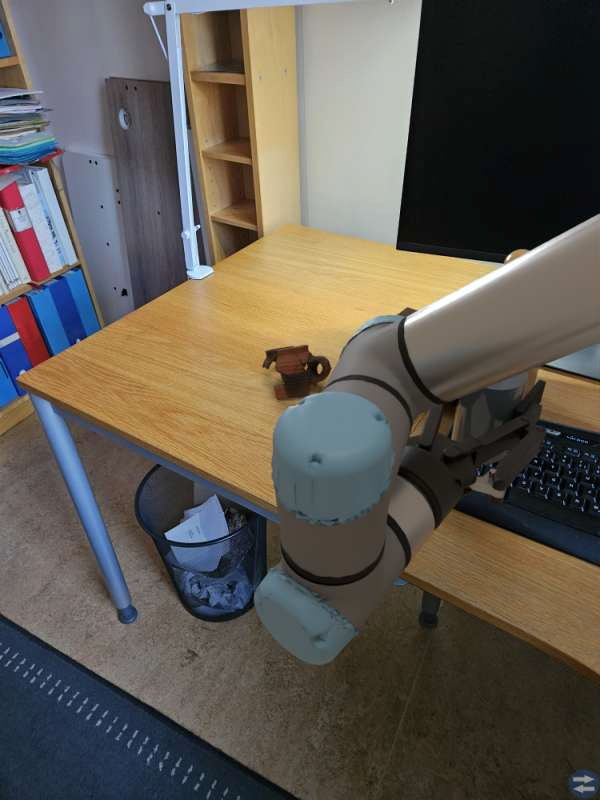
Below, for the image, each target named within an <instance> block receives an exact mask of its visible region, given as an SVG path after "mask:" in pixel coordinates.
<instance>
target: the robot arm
mask: <svg viewBox="0 0 600 800" xmlns="http://www.w3.org/2000/svg"><path fill="white" fill-rule="evenodd" d="M417 310H418V309H417ZM598 344H600V213H598V214H596V215H594V216H593V217H590V218H589V219H587V220H585V221H583V222H581V223H579V224H577V225H576V226H574V227H572V228H570V229H568V230H566V231H564V232H563V233H561V234H559V235H557V236H555V237H553V238H551V239H549V240H548V241H545V242H544V243H542V244H540V245H537V246H536V247H534V248H533V249H531V250H529V252H527V253H525V254H523V255H521V256H519V257H518V258H516V259H514V260H512V261H510V262H508V263H506V264H504V263H503V265H501V266H499V267H497V268H495V269H493V270H491V271H490V272H488V273H486V274H484V275H482V276H480V277H478V278H476V279H475V280H473V281H471V282H468V283H467V284H465V285H463V286H462V287H459V288H457V289H455V290H453V291H452V292H450V293H448V294H446V295H445V296H443V297H441V298H439V299H437V300H435V301H434V302H432V303H430V304H428V305H426V306H424V307H422V308H420V309H419V310H418V311H417V312H415V313H413V314H410V315H408V316H406V317H404V316H400V315H397V314H384V315H377V316H374V317H371V318H370V319H369V320H368V319H367V320H366V321H365V322H363V323H362V324H361V325H360V326H359V327H358V329H357V330H356V331H355V333H354V334H353V335H352V336H350V338H349V339H348V340H347V342H346V344H345V345H344V346H343V347H342V350H341V353H340V355H339V358H338V360H337V363H336V365H335V366H334V367H333V370H332V372H331V373H330V375H329V376H328V377H329V378H328V379H327V381H326V383H325V384H324V386H323V388H322V390H321V392H318V393H317V392H316V393H314V394H310V395H307V396H304V397H302V399H301V400H300V402H299V403H297V404H296V405H290V406H288V407H287V408H285V410H284V411H282V413H281V414H280V415H279V417H278V419H277V420H276V423H275V425H274V428H273V433H272V456H271V462H270V466H271V469H272V471H271V473H270V474H271V480H272V482H273V484H272V485H273V488H274V494H275V501H276V502H275V503H276V511H277V517H278V526H279V534H280V543H279V544H280V555H281V559H280V561H279V563H277V564H276V565H275V566H272V567H270V568H269V569H268V571H267V574H266V575H265V576H264V577H263V579H262V580H261V582H260V583H259V584H258V585H257V586H256V588H255V591H254V593H253V594H254V595H253V604H254V605H253V606H254V608H255V611H256V614H257V616H258V618H259V620H260V622H261V623H262V625H263V626H264V628H265V629H266V630H267V632H268V633H269V634H270V636H272V638H273V639H274V640H275V641H276V642H277V643H278V644H279V645H280V646H281V647H283V649H285V650H286V651H288V652H289V653H290V654H291V655H293V656H294V657H295V658H297V659H299V660H300V661H303V662H305V663H307V664H309V665H318V666H321V665H326V664H328V663H330V662H332V661H333V660H334V659H335V658H336V657H337V656H338V655H339V654H340V653H341V651H342V650H343V649H344V648H345V647H346V646H347V645H348V644H349V642H350V641H351V640H352V639H353V638H356V637H357V636H358V635H359V634H360V631H359V630H360V629H361V628H362V627H363V625H364V623H365V622H366V621H367V620H368V618H369V617H370V616H371V614H372V613H373V612H374V611H375V609H376V608H377V606H378V605H379V604H380V603H381V601H383V599H384V597H386V595H387V593H388V592H389V591H390V590H391V589H392V587H393V585H395V583H396V582H397V580H398V579H399V578H400V577H401V575H402V574H403V573H404V571H405V570H406V569H407V568H408V566H409V564H410V563H411V562H412V561H413V560H414V558H415V557H416V555H417V554H419V552H420V551H421V549H422V548H423V547H424V545H426V543H427V542H428V540H429V539H430V538H431V537H432V535H433V534H434V531H436V530H437V529H438V528H439V527H440V525H441V524H442V523H443V522H444V520H445V519H446V518H447V516H448V515H449V514H450V513H451V511H452V510H453V509H454V508H455V506H456V505H457V504H458V502H459V501H460V499H461V498H463V497H466V496H468V495H470V494H472V493H473V492H476V493H477V492H478V493H482V494H484V495H489V498H488V499H489V501H490V502H491V503H492V504H494V505H501V504H503V502H504V499H505V496H506V492H507V489H508V487H509V486H510V485H511V484H512V483H513V482H514V480H515V479H516V478H517V477H518V476H519V475H520V474H521V473H522V472H523V470H524V469H526V467H527V466H528V465H529V464H530V463H531V462H532V460H534V459H535V457H536V456H537V455H538V454H540V453H541V451H542V448H543V445H544V441H545V438H546V435H547V432H548V429H547V427H545V426H543V425H538V424H537V423H538V421H539V420H540V418H541V414H542V411H543V404H540V403H541V402H542V399H543V395H544V392H545V388H546V384H547V381H546V380H543V379H541V378H540V379H538V380H537V382H535V384H534V386H533V388H532V389H531V390H530V391H529V393H528V394H527V395H526V396H525V398H524V399H523V400H522V401H521V403H520V404H519V405H518V406H517V407H516V409H515V411H514V415H513V419H512V420H511V421H509V422H507V423H505V424H503V425H501V426H499V427H497V428H495V429H493V430H492V431H490V432H488V433H486V434H484V435H482V436H480V437H478V438H476V439H475V438H474V437H471V438H469V439H467V440H465V441H463V442H459V441H455V440H451V439H450V438H449V437H448V436H446V435H445V434H442V433H440V432H439V431H440V427H441V424H442V420H443V417H444V413H445V409H446V406H449V407H452V408H454V407H456V406H457V400H458V398H461V397H463V396H466V395H468V394H471V393H473V392H476V391H479V390H481V389H484V388H486V387H489V386H491V385H494V384H496V383H499V382H501V381H504V380H507V379H509V378H512V377H514V376H517V375H519V374H522V373H524V372H527V371H530V370H532V369H535V368H537V367H539V368H540V367H542V366H545V365H547V364H550V363H552V362H555V361H558V360H561V359H562V358H565V357H568V356H570V355H573V354H575V353H578V352H580V351H582V350H586V349H588V348H591V347H593V346H596V345H598ZM426 412H428V414H427V417H426V419H425V421H424V424H423V428H422V431H421V433H420V434H417V435H412V436H410V435H411V432H412V428H413V426H414V423H415V421H416V419H417V418H418V417H419V416H421V414H424V413H426ZM536 424H537V425H536ZM508 449H510V451H509V453H508V454H507V455H506V456H505V457H504V458H503V459H502V460H500V461H499V462H498V464H497V466H496V468H494V467H493V468H490V469H489V471H487V472H486V473H485V474H484V475H481V476H478V475H477V470H479V468H480V466H481V465H483V464H485V463H484V462H486V461H488V460H490V459H492V458H493V457H495V456H497V455H499V454H501V453H503V452H504V451H506V450H508Z"/></svg>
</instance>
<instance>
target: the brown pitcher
mask: <svg viewBox="0 0 600 800" xmlns="http://www.w3.org/2000/svg"><path fill="white" fill-rule="evenodd" d="M264 353H265V359H264V360H263V363H262V365H261V367H262V368H263V369H266V370H270V368H271V365H272V364H273V363H275V364H274V369H275V371H276V373H278V374H280V377H281V380H282V384H279V385H274V386H273V391H274V393H275V398H276V399H277V400H278V399H279V400H285V399H297V398H305V397H307V396H310V395H311V387H317V386H318V383H320V382H323V381H325V380H326V379H327V378H328V377H329V376H330V375H331V371H332V369H333V368H332V366H331V362H330V359H329V358H327V357H326V356H324V355H313V353H312V352H311V351H310V349H309V345H308V344H299V345H296V346H294V345H291V346H290V345H289V346H282V347H277V348H271V349H267V350H265V351H264ZM319 365H321V371H320V373H319V371H318V368H319ZM305 368H306V369H305Z"/></svg>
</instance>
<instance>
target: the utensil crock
mask: <svg viewBox="0 0 600 800" xmlns="http://www.w3.org/2000/svg"><path fill="white" fill-rule="evenodd" d="M529 251H530V249H526V248H519V249H516V250H513V251H512V252H510V253H509V254H508V255H507V256H506V258H505V259H504V261H503V265H504V264H506V263H508V262H510V261H512V260H514V259H516V258H518V257H519V256H521V255H523V254H525V253H527V252H529ZM527 379H528V373H527V372H524V373H522V374H519V375H517V376H514V377H512V378H509V379H507V380H504V381H501V382H499V383H496V384H494V385H491V386H489V387H486V388H484V389H481V390H479V391H476V392H473V393H471V394H468V395H466V396H463V397H461V398H458V400H457V404H456V405H455V413H454V419H453V426H452V431H451V440H455V441H459V442H463V441H465V440H467V439H469V438H471V437H474V438H475V439H476V438H478V437H480V436H482V435H484V434H486V433H488V432H490V431H492V430H493V429H495V428H497V427H499V426H501V425H503V424H505V423H507V422H509V421H511V420H512V419H513V415H514V411H515V409H516V407H517V406H518V405H519V404H520V403H521V401H522V399H523V395H524V391H525V387H526V383H527ZM510 451H511V448H510V449H508V450H506V451H504V452H503V453H501V454H499V455H497V456H495V457H493V458H492V459H490V460H488V461H486V462H484V463H483V464H495V463H499V462H500V461H501V460H502V459H503V458H504V457H505V456H506V455H507V454H508V453H509V452H510Z"/></svg>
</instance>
